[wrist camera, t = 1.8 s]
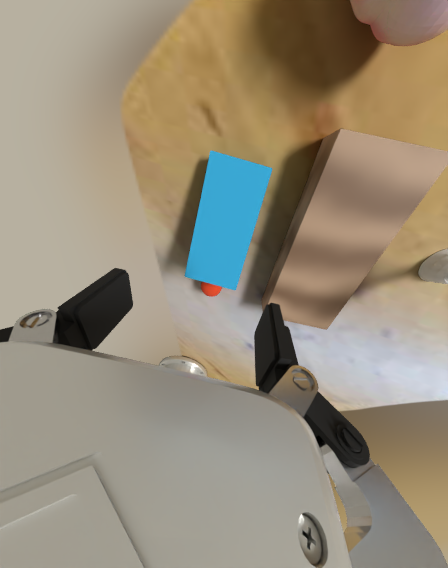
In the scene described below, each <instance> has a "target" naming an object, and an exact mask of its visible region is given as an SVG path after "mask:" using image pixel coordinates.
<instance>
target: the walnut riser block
mask: <svg viewBox="0 0 448 568" xmlns="http://www.w3.org/2000/svg"><path fill="white" fill-rule="evenodd" d="M447 165H448V151H443V150H439V149H434V148H429V147H425V146H420V145H415V144H411V143H406V142H401V141H397V140H392V139H387V138H383V137H378V136H373V135H369V134H364V133H359V132H355V131H350V130H345V129H339V130H337V131H336V132H334V133H332V134H330V135H328V136H326V137H325V138H323V141H322V143H321V146H320V148H319V151H318V154H317V156H316V159H315V161H314V164H313V167H312V169H311V172H310V175H309V177H308V180H307V182H306V185H305V188H304V190H303V193H302V195H301V198H300V201H299V203H298V206H297V209H296V211H295V214H294V216H293V219H292V222H291V224H290V227H289V229H288V232H287V235H286V237H285V240H284V243H283V245H282V248H281V250H280V253H279V256H278V258H277V261H276V263H275V266H274V269H273V271H272V274H271V277H270V279H269V282H268V284H267V287H266V290H265V292H264V295H263V297H262V309H263V311H264V309H265V307H266V305H267V304H270V303H275V304H279V305H280V308H281V313H282V317H283V320H285V321H290V322H294V323H299V324H303V325H308V326H312V327H317V328H321V329H326V330H327V329H328V327H329V326H330V324H331V323H332V322H333V320H334V319H335V318H336V316H337V315H338V313H339V312H340V311H341V309H342V308H343V307H344V305H345V304H346V303H347V301H348V300H349V298H350V297H351V296H352V294H353V293H354V292H355V290H356V289H357V288H358V286H359V285H360V283H361V282H362V281H363V279H364V278H365V277H366V275H367V274H368V273H369V271H370V270H371V268H372V267H373V266H374V264H375V263H376V262H377V260H378V259H379V258H380V256H381V255H382V253H383V252H384V251H385V249H386V248H387V247H388V245H389V244H390V243H391V241H392V240H393V238H394V237H395V236H396V234H397V233H398V232H399V230H400V229H401V228H402V226H403V225H404V223H405V222H406V221H407V219H408V218H409V217H410V215H411V214H412V213H413V211H414V210H415V208H416V207H417V206H418V204H419V203H420V202H421V200H422V199H423V198H424V196H425V195H426V193H427V192H428V191H429V189H430V188H431V187H432V185H433V184H434V183H435V181H436V180H437V178H438V177H439V176H440V174H441V173H442V172H443V170H444V169H445V167H446V166H447Z"/></svg>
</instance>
